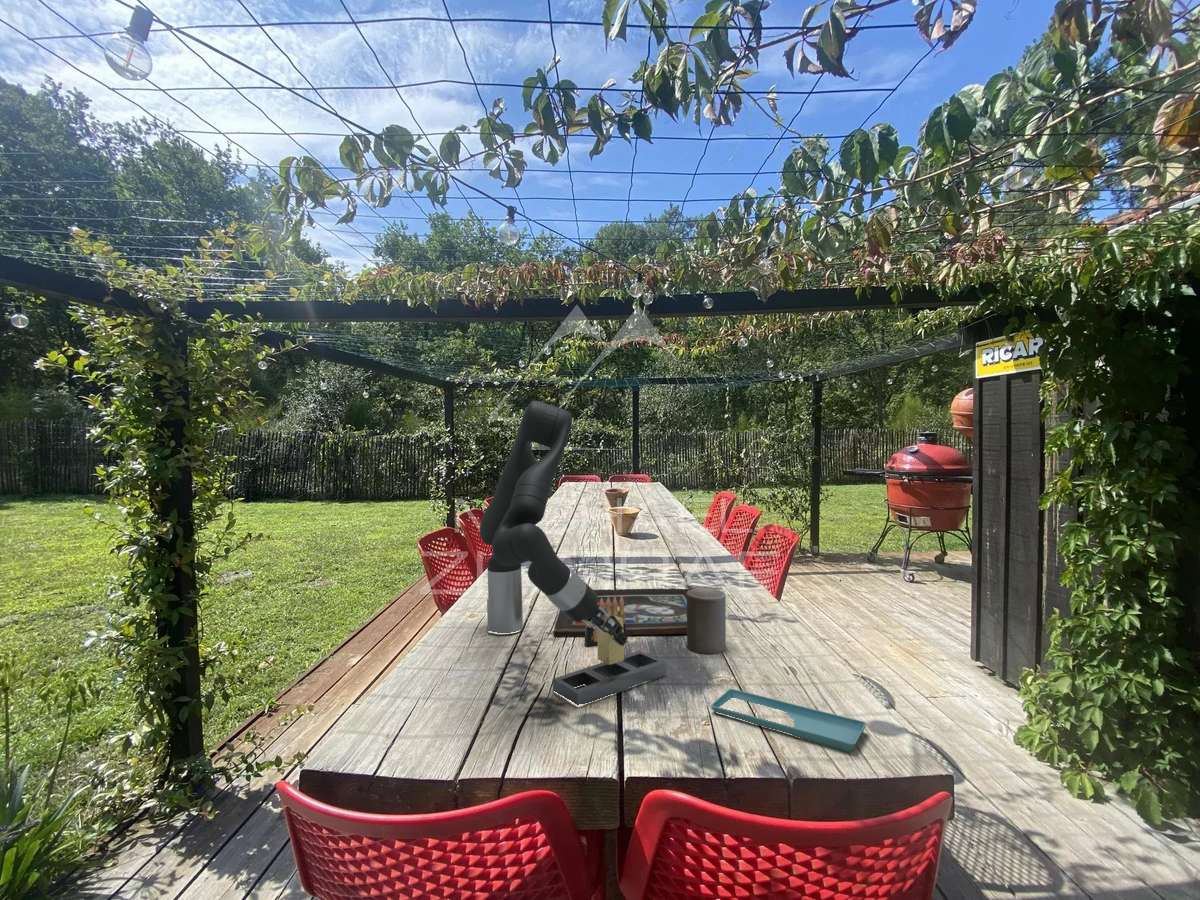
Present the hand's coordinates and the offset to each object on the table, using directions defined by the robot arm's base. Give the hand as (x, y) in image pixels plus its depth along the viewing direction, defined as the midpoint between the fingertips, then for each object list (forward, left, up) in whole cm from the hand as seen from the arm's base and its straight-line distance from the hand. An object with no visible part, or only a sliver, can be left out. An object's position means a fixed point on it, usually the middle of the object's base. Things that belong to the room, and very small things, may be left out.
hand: (617, 638), depth 127 cm
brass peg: (-2, -1, -4) cm, 5 cm away
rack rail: (-2, -1, -9) cm, 10 cm away
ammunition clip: (-2, +23, -10) cm, 25 cm away
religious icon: (+8, +47, -10) cm, 49 cm away
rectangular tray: (+29, -21, -10) cm, 37 cm away
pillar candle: (+23, +18, -10) cm, 31 cm away
